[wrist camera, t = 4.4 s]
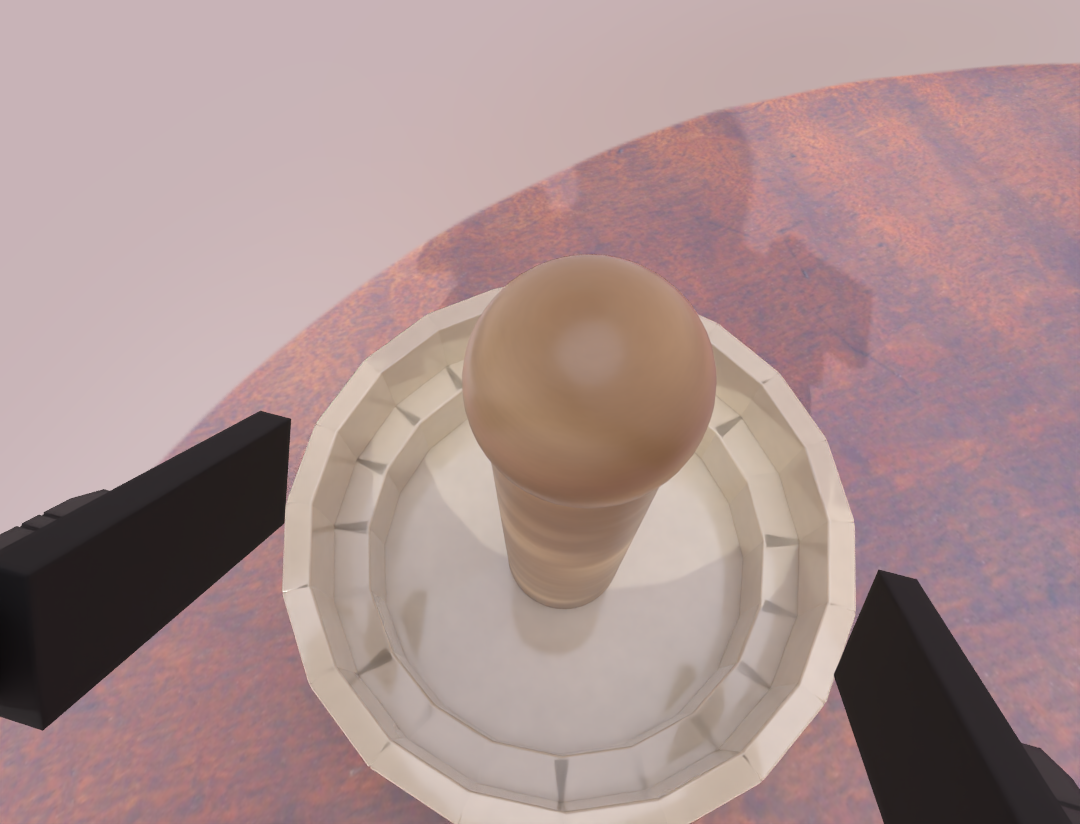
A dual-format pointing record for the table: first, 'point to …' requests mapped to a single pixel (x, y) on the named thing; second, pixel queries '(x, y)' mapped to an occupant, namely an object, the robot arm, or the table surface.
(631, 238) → the table surface
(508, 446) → the pestle
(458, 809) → the bowl
